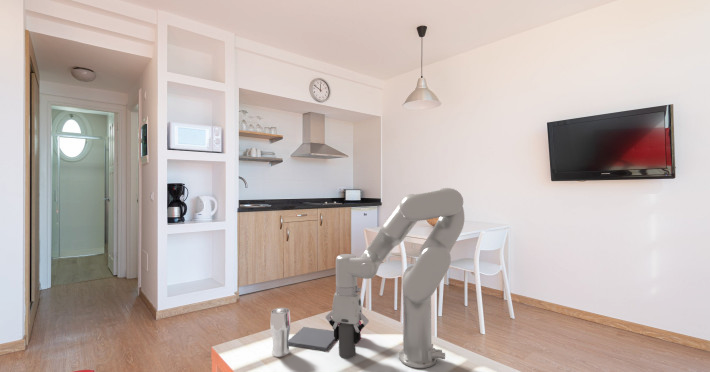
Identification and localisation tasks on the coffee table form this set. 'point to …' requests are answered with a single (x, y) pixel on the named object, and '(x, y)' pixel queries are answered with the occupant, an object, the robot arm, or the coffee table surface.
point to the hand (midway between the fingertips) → (347, 340)
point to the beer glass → (280, 331)
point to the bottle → (346, 340)
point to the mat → (313, 338)
